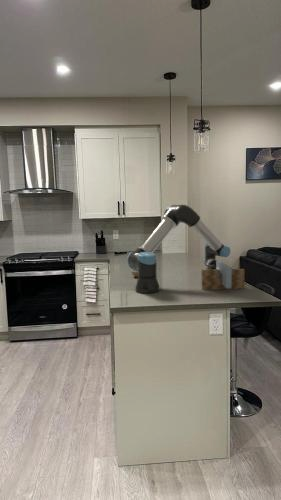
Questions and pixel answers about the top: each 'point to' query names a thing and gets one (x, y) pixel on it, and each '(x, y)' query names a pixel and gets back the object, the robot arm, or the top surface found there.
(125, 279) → the top surface
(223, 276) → the slate plate
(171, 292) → the top surface
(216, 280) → the brown wooden panel
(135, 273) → the vase
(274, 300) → the top surface
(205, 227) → the robot arm
